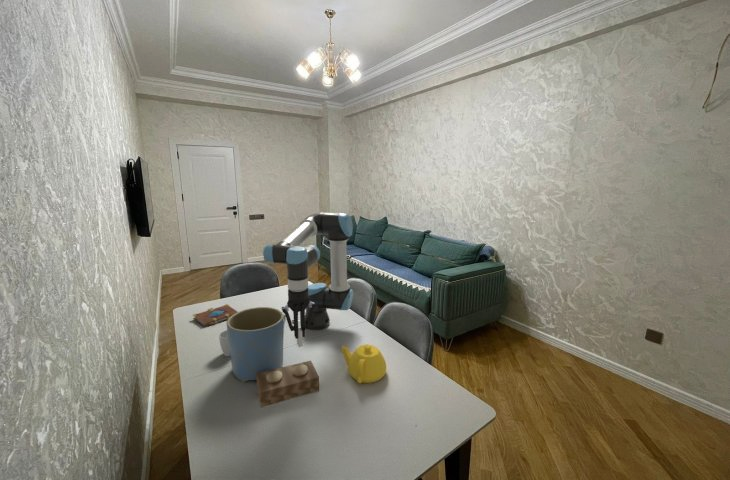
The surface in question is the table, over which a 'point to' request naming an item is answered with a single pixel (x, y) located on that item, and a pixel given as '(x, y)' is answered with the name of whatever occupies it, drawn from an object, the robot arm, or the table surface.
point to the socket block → (287, 384)
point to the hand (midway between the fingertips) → (300, 344)
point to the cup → (224, 343)
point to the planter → (255, 341)
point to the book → (214, 315)
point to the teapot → (365, 363)
